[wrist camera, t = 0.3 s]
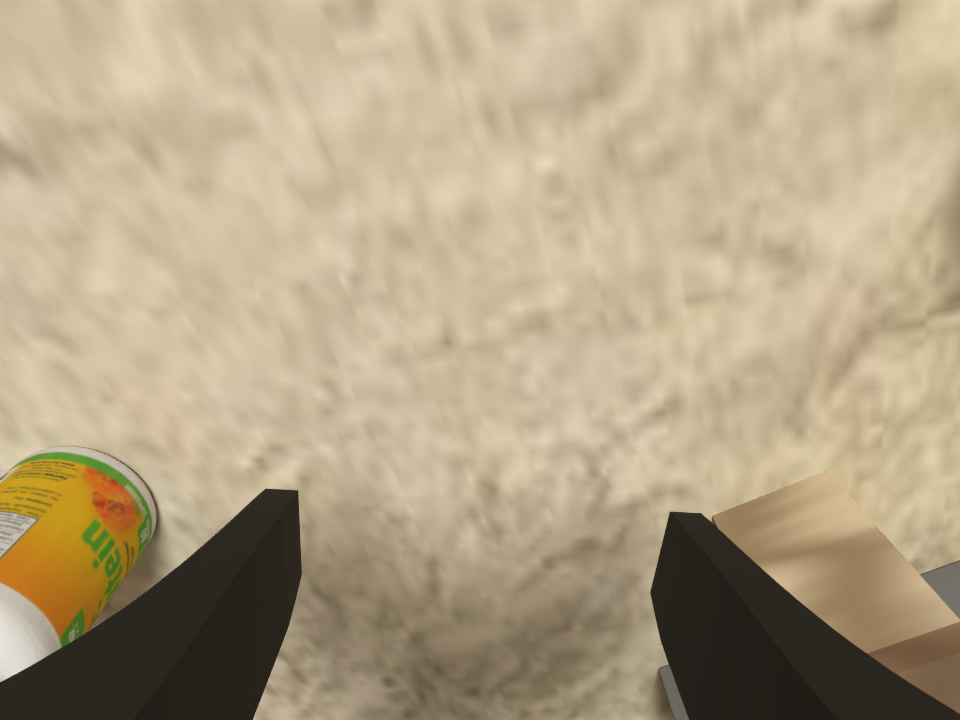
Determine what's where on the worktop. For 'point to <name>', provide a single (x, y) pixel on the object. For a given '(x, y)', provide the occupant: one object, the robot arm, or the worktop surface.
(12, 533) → the supplement bottle
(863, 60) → the worktop surface
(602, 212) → the worktop surface
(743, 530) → the plug
